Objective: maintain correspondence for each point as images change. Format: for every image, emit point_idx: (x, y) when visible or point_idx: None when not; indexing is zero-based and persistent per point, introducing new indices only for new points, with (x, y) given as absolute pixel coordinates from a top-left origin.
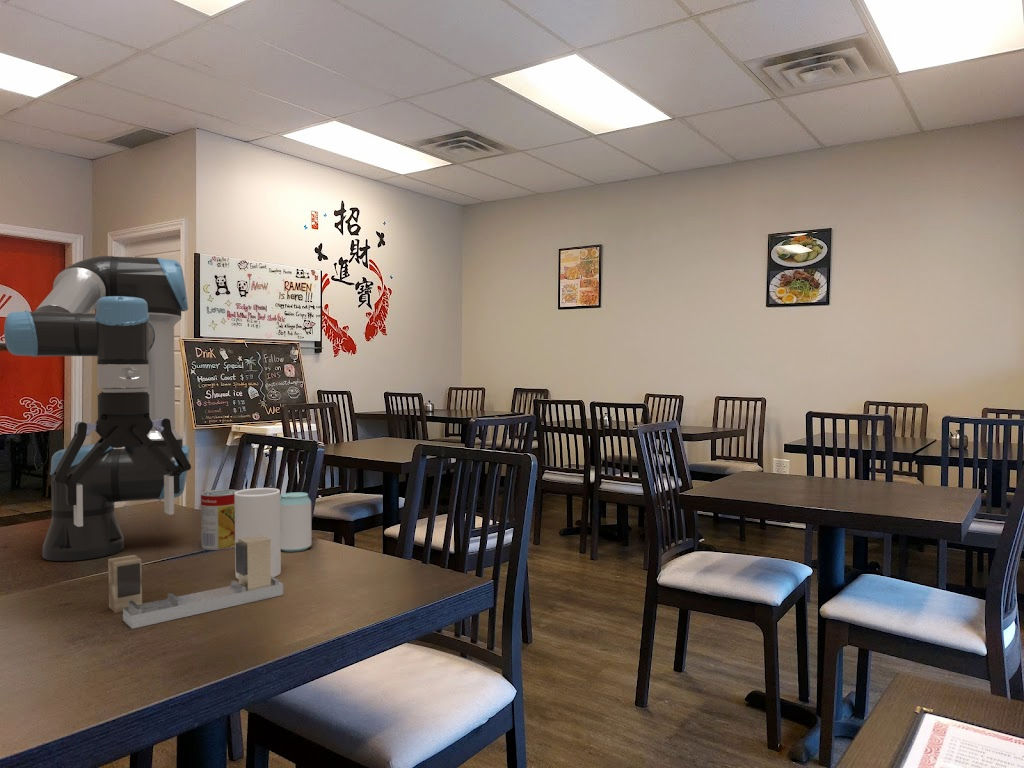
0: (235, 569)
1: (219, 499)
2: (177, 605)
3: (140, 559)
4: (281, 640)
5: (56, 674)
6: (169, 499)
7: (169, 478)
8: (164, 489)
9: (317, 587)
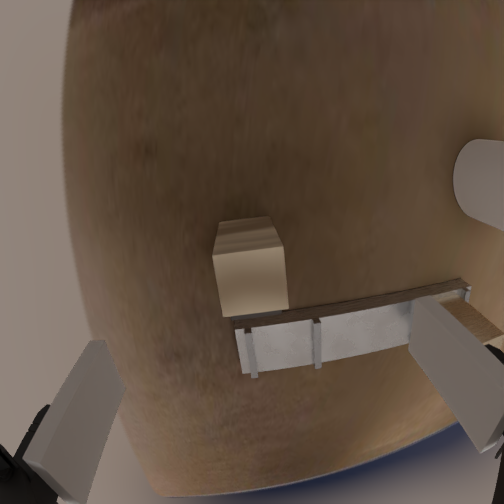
0: (462, 169)
1: None
2: (313, 363)
3: (286, 308)
4: (365, 445)
5: (161, 433)
6: (435, 384)
7: (477, 447)
8: (468, 356)
9: (490, 306)
